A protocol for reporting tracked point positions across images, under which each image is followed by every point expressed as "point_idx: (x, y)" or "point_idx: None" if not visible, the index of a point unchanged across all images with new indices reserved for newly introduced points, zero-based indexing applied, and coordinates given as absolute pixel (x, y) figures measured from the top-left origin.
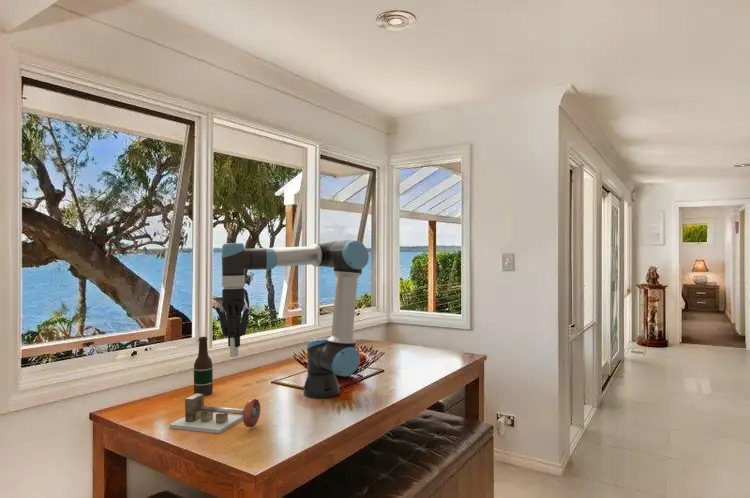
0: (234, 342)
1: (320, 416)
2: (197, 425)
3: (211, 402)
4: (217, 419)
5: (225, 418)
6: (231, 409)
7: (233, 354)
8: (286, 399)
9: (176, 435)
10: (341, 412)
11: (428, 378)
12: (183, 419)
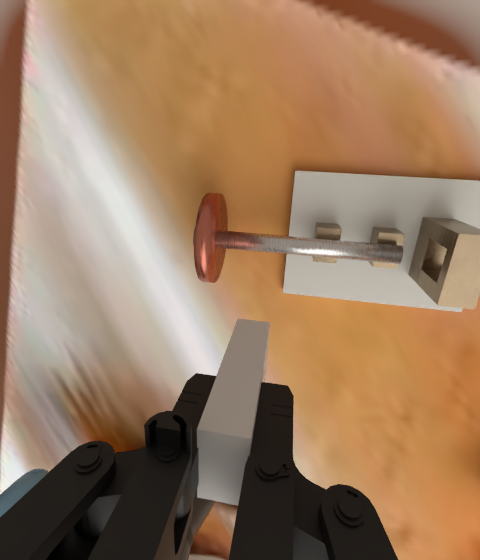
0: (211, 400)
1: (100, 332)
2: (391, 192)
3: (448, 406)
4: (333, 226)
5: None
6: (286, 241)
7: (239, 329)
8: None
9: (436, 122)
10: (70, 361)
11: None
12: None
